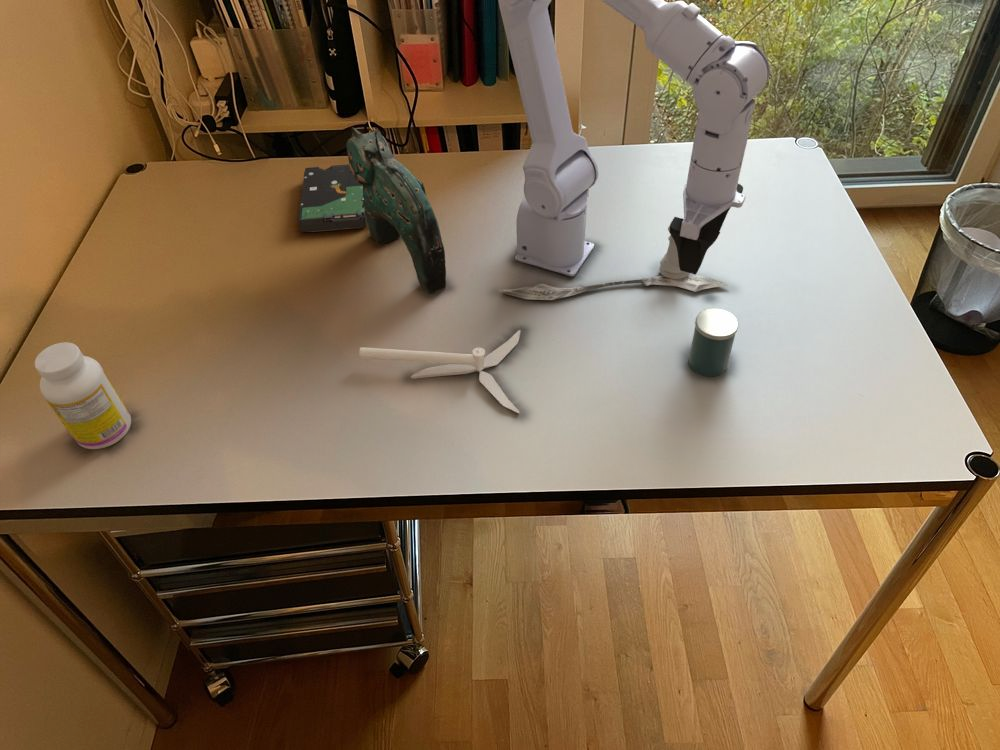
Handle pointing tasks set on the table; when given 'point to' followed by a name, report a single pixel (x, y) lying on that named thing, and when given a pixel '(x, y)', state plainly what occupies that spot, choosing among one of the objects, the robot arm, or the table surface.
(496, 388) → the wind turbine
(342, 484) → the table surface
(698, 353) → the tin can
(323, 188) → the disk drive
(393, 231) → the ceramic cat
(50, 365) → the supplement bottle
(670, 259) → the rook chess piece
